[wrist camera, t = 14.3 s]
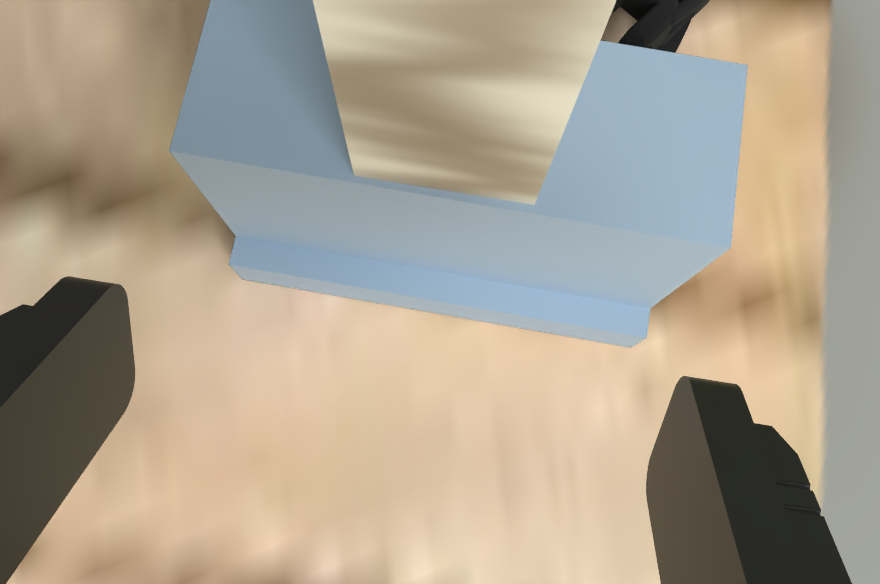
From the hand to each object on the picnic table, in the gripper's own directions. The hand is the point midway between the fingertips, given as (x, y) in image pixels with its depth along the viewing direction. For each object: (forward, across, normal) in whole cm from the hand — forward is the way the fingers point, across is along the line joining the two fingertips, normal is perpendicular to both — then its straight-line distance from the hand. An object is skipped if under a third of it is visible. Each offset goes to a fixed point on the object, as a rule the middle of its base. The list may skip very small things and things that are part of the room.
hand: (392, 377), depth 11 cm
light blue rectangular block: (+17, 0, +6) cm, 18 cm away
